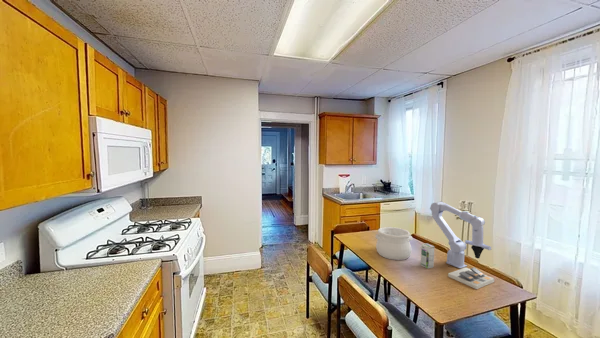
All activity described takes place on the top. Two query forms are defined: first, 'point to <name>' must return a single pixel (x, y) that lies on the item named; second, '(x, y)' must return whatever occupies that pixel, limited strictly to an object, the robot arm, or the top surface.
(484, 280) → the switch panel
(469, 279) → the rocker
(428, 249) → the syrup box
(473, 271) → the rocker
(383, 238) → the pot
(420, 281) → the top surface
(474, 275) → the rocker
